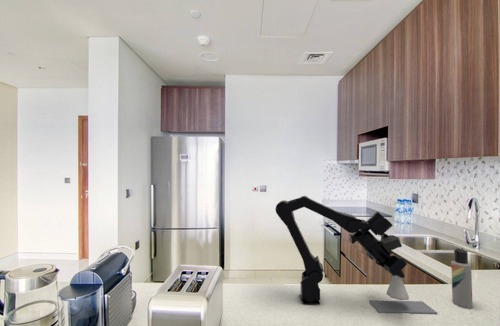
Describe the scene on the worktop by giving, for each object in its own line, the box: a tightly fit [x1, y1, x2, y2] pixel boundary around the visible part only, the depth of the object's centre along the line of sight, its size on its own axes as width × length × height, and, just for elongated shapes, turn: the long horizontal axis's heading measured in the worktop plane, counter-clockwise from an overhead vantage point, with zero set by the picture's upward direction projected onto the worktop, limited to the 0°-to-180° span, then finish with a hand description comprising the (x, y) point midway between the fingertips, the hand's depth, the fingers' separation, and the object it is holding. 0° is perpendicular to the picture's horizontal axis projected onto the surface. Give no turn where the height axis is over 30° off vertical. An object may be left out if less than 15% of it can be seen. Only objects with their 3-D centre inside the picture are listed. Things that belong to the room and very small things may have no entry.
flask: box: [386, 275, 410, 301], centre depth 91 cm, size 7×7×10 cm
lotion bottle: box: [450, 248, 473, 309], centre depth 94 cm, size 6×6×20 cm
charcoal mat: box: [368, 299, 438, 315], centre depth 91 cm, size 20×8×1 cm, turn 89°
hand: (401, 275), depth 91 cm, fingers closed on flask, 3 cm apart
